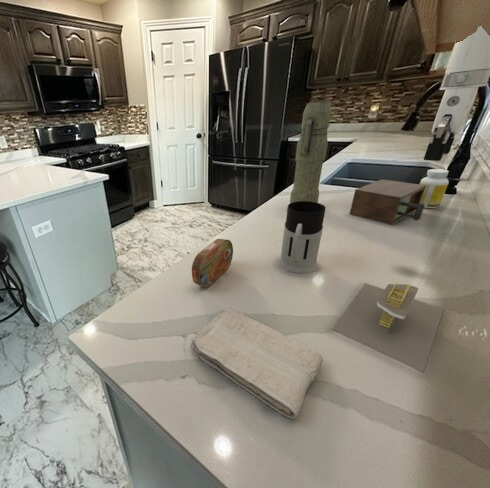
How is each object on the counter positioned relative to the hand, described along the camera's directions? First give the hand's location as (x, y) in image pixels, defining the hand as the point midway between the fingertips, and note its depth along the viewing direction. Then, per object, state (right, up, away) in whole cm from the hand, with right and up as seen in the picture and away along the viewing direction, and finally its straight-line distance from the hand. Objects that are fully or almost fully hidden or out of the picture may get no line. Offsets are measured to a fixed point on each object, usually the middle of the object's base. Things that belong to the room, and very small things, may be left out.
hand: (436, 156), depth 69 cm
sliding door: (+1, -16, +9) cm, 18 cm away
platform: (-31, -37, -22) cm, 53 cm away
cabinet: (0, -13, +17) cm, 21 cm away
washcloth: (-57, -42, -26) cm, 76 cm away
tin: (-60, -31, -5) cm, 68 cm away
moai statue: (-21, -10, +27) cm, 36 cm away
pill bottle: (+16, -10, +19) cm, 27 cm away
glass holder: (-40, -29, -6) cm, 50 cm away
